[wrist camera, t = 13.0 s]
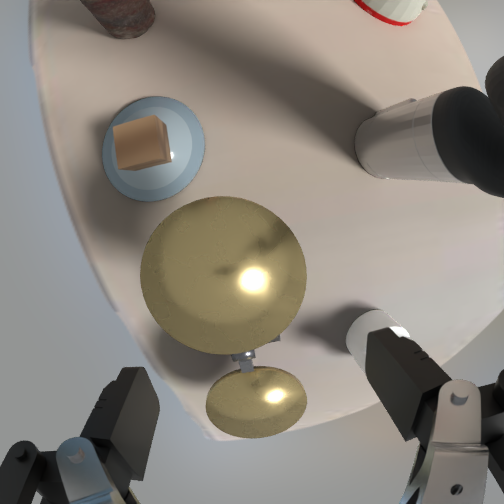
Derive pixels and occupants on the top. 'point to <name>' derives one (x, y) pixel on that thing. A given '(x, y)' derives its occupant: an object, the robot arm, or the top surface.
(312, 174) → the top surface
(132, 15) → the candle
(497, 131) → the robot arm
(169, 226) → the balance
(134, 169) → the walnut block
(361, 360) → the cylinder with rectangular tab
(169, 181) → the dish
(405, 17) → the kitchen timer
